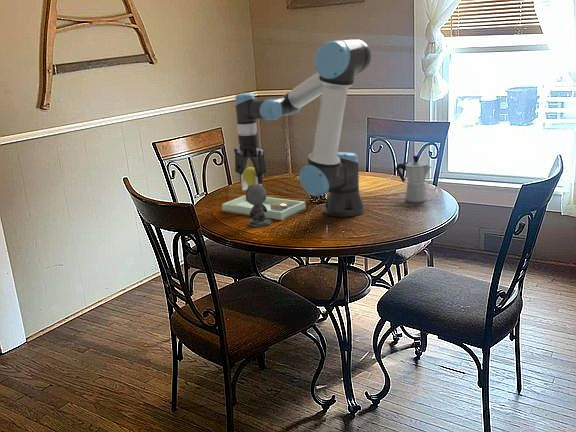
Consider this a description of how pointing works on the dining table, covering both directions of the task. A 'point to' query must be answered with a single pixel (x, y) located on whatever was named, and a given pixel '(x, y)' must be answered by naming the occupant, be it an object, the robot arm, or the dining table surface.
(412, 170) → the coffee maker
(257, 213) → the figurine
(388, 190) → the dining table surface
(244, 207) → the pale green tray
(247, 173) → the light bulb
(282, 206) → the tin
